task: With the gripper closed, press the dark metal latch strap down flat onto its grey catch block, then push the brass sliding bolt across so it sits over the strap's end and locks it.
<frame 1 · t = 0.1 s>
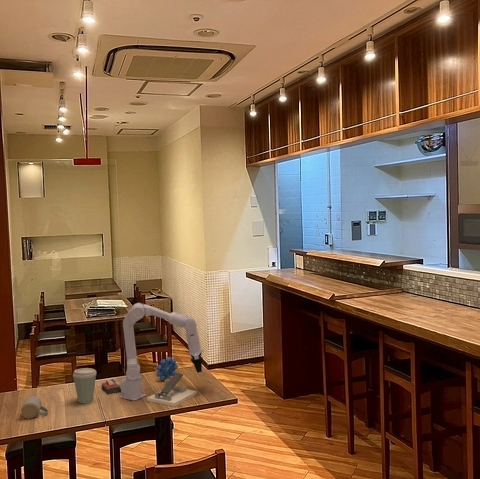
hand: (199, 369, 247), 11 cm above the table, tool pointing down, fingers open, 7 cm apart
latch base plate: (172, 397, 240), on the table
grapes: (167, 379, 267), on the table
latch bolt: (169, 381, 248), point 5 cm above the table, slide at 0.0 cm
latch strap: (171, 384, 239), point 6 cm above the table, hinge at 25.0°
disposable coffee cup: (86, 401, 239), on the table
ceramic mug: (35, 415, 224), on the table
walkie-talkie: (111, 389, 257), on the table
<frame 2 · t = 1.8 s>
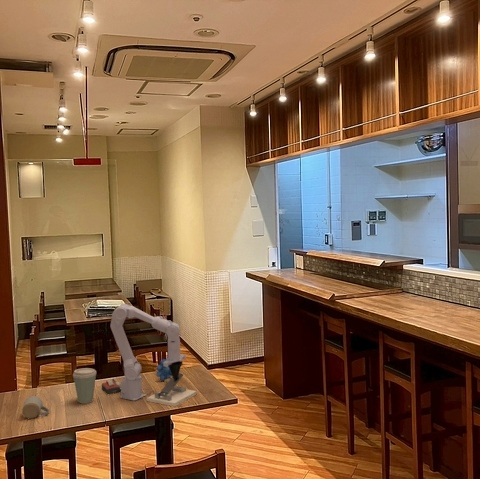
hand: (175, 377, 242), 9 cm above the table, tool pointing down, fingers closed
latch strap: (171, 384, 239), point 6 cm above the table, hinge at 24.7°, touching gripper
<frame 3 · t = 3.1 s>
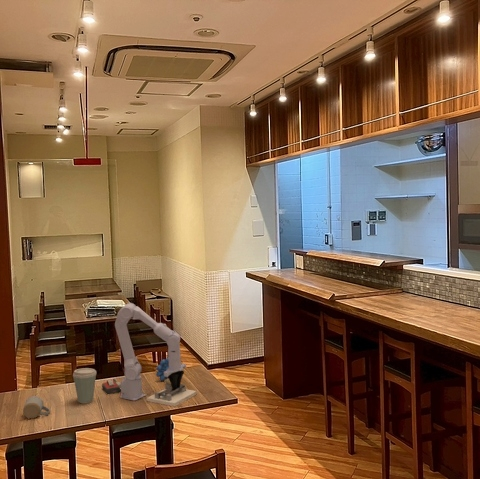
hand: (176, 387, 242), 4 cm above the table, tool pointing down, fingers closed on latch strap, 2 cm apart
latch strap: (172, 390, 240), point 3 cm above the table, hinge at -0.1°, touching gripper, latch base plate
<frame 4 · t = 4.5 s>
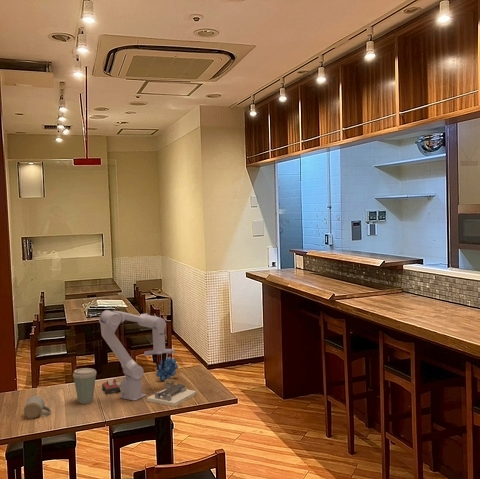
hand: (160, 369, 251), 10 cm above the table, tool pointing down, fingers closed
latch strap: (172, 390, 240), point 3 cm above the table, hinge at -0.1°, touching latch base plate
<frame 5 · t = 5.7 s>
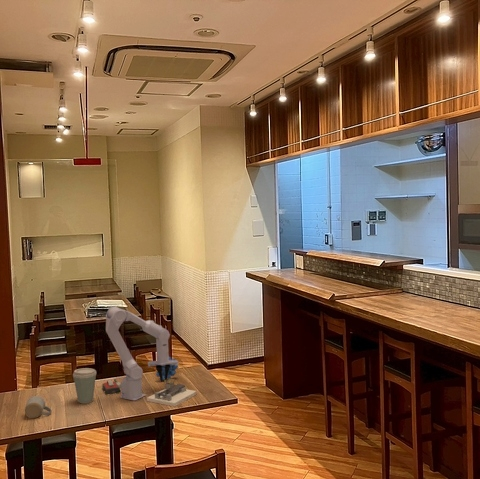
hand: (163, 380, 250), 5 cm above the table, tool pointing down, fingers closed
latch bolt: (169, 381, 248), point 5 cm above the table, slide at 0.1 cm, touching gripper
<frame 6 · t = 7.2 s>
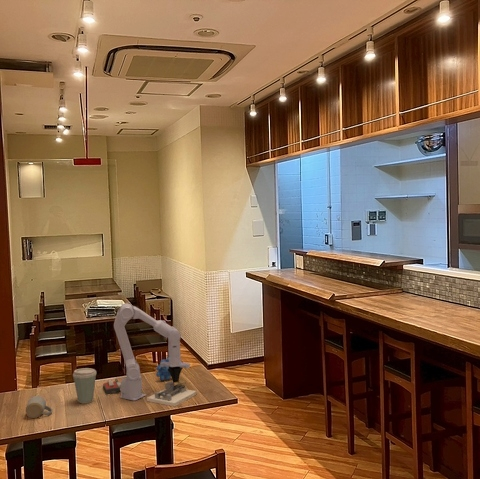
hand: (175, 382, 247), 5 cm above the table, tool pointing down, fingers closed
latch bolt: (180, 382, 244), point 5 cm above the table, slide at 6.6 cm, touching gripper
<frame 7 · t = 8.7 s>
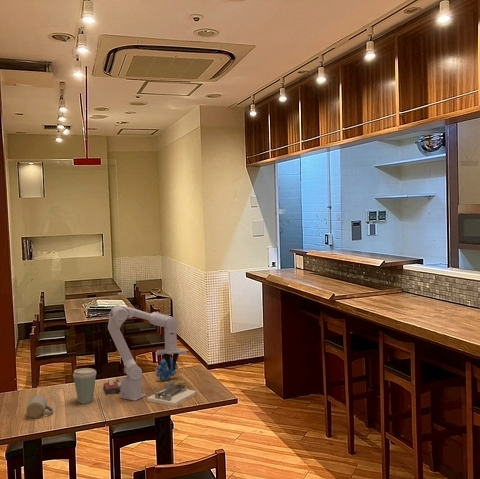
hand: (172, 368, 250), 10 cm above the table, tool pointing down, fingers closed
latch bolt: (180, 382, 244), point 5 cm above the table, slide at 6.5 cm
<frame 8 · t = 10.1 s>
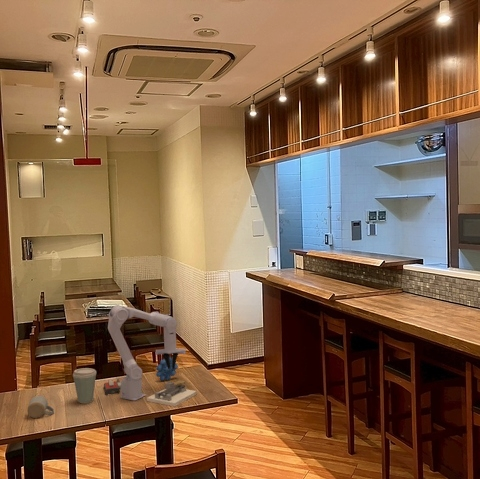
hand: (171, 368, 251), 10 cm above the table, tool pointing down, fingers closed
at the end: latch strap at +0° (first picture: +25°); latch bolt slide at 6.5 cm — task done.
